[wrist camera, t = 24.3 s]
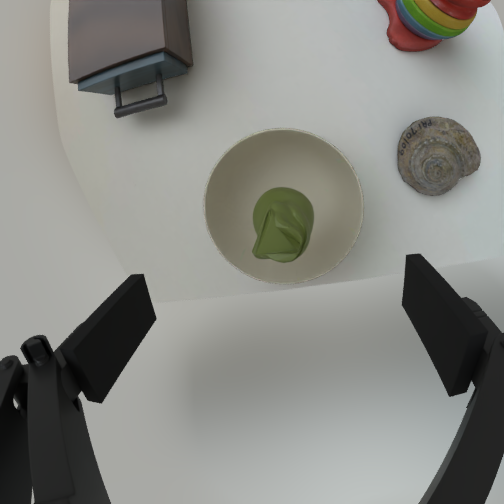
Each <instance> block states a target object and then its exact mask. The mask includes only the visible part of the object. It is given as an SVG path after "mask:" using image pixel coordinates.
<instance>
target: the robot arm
mask: <svg viewBox="0 0 504 504" xmlns="http://www.w3.org/2000/svg"><path fill="white" fill-rule="evenodd" d="M403 289H404V290H403V298H402V306H403V308H404V309H405V311H406V313H407V315H408V317H409V318H410V320H411V322H412V324H413V326H414V328H415V329H416V331H417V333H418V335H419V337H420V338H421V341H422V342H423V344H424V346H425V348H426V350H427V352H428V354H429V356H430V358H431V360H432V362H433V364H434V366H435V368H436V370H437V372H438V374H439V376H440V378H441V380H442V382H443V384H444V387H445V388H446V391H447V393H448V395H449V397H451V396H454V395H458V394H462V393H465V392H467V390H468V387H469V385H470V382H471V380H472V382H473V384H474V386H475V390H474V392H473V394H472V397H471V399H470V401H469V403H468V406H467V407H466V408H467V410H466V413H465V415H464V418H463V420H462V422H461V425H460V427H459V429H458V432H457V434H456V436H455V438H454V440H453V442H452V445H451V447H450V449H449V451H448V453H447V455H446V457H445V459H444V461H443V463H442V465H441V466H440V468H439V470H438V472H437V474H436V475H435V477H434V479H433V481H432V482H431V484H430V486H429V488H428V489H427V491H426V492H425V494H424V496H423V497H422V499H421V501H420V502H419V504H485V501H486V499H487V497H488V495H489V492H490V490H491V487H492V485H493V482H494V479H495V477H496V474H497V471H498V469H499V466H500V463H501V460H502V457H503V454H504V333H502V332H501V331H500V330H499V329H498V327H497V326H496V325H495V324H494V323H493V321H492V320H491V319H490V318H489V317H488V316H487V314H486V313H485V312H484V311H482V309H481V308H480V306H479V305H478V304H477V303H476V302H474V301H473V300H471V299H469V298H467V297H464V298H461V297H460V296H459V295H458V294H457V293H456V292H455V291H454V289H453V288H452V287H451V286H450V285H449V284H448V283H447V282H446V281H445V279H444V278H443V277H442V276H441V275H440V274H439V273H438V272H437V271H436V270H435V269H434V268H433V266H432V265H431V264H430V263H429V262H428V261H427V260H426V259H425V258H424V257H423V256H422V255H421V254H410V255H406V265H405V278H404V288H403ZM155 321H156V315H155V312H154V309H153V305H152V302H151V299H150V295H149V292H148V288H147V285H146V281H145V277H144V274H133V275H130V276H129V277H128V278H127V279H126V280H125V281H124V282H123V283H122V284H121V285H120V286H119V287H118V288H117V289H116V290H115V291H114V292H113V293H112V294H111V295H110V296H109V297H108V298H107V299H106V300H105V301H104V302H103V303H102V304H101V305H100V306H99V307H98V308H97V309H96V310H95V311H94V312H93V313H92V314H91V315H90V316H89V318H88V319H87V320H86V321H85V322H83V323H81V324H80V325H79V326H78V327H77V328H76V329H75V330H74V331H73V333H71V334H70V335H69V336H68V338H66V340H65V341H64V342H63V343H62V344H61V345H60V346H59V347H58V348H57V349H56V350H55V351H54V352H53V350H52V348H51V346H50V344H49V342H48V340H47V338H46V336H44V335H37V336H33V337H31V338H29V339H28V340H26V341H25V342H24V343H23V344H22V346H21V348H20V349H21V351H22V352H23V354H24V356H25V358H26V360H27V362H28V364H26V365H22V364H21V362H20V361H19V359H18V357H17V356H15V355H12V356H7V357H5V358H3V359H2V360H1V361H0V504H31V497H32V486H33V493H34V499H35V503H34V504H111V502H110V499H109V497H108V494H107V491H106V489H105V486H104V483H103V480H102V477H101V474H100V471H99V468H98V465H97V461H96V458H95V455H94V451H93V448H92V444H91V441H90V437H89V433H88V429H87V425H86V421H85V416H84V412H83V408H82V403H81V401H80V399H79V397H78V395H79V393H80V392H81V391H82V392H83V393H84V395H85V397H86V398H87V400H88V401H92V402H97V403H102V402H103V401H104V399H105V397H106V396H107V394H108V392H109V391H110V389H111V388H112V386H113V385H114V383H115V382H116V380H117V378H118V377H119V375H120V374H121V372H122V371H123V369H124V367H125V366H126V364H127V362H128V361H129V360H130V358H131V357H132V355H133V354H134V352H135V351H136V349H137V348H138V346H139V345H140V343H141V342H142V340H143V339H144V337H145V336H146V334H147V333H148V331H149V330H150V328H151V326H152V325H153V323H154V322H155ZM13 398H14V399H15V401H16V402H17V404H18V408H17V409H16V408H15V406H14V403H13Z"/></svg>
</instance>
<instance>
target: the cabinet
mask: <svg viewBox="0 0 504 504" xmlns="http://www.w3.org/2000/svg"><path fill="white" fill-rule="evenodd" d="M160 51H164V52H166V53H168V54H169V55H171V56H173V57H174V58H176V59H178V60H179V61H181V62H182V63H184V64H186V65H187V67H188V66H193V59H192V50H191V41H190V32H189V23H188V13H187V3H186V0H69V18H68V64H69V83H74V84H78V82H79V81H82V80H84V79H86V78H89V77H91V76H93V75H96V74H98V73H99V72H102V71H104V70H107V69H109V68H112V67H115V66H117V65H120V64H123V63H126V62H128V61H131V60H134V59H137V58H140V57H143V56H147V55H150V54H153V53H156V52H160Z"/></svg>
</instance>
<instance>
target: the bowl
mask: <svg viewBox="0 0 504 504" xmlns="http://www.w3.org/2000/svg"><path fill="white" fill-rule="evenodd" d="M276 187H288V188H292V189H295V190H297V191H299V192H301V193H302V194H304V195H305V196H306V197H307V198H308V199H309V201H310V202H311V204H312V206H313V210H314V224H313V229H312V233H311V235H310V241H309V244H308V247H307V248H306V250H305V251H304V253H303V254H302V255H301V256H300V257H298V258H297V259H296V260H294V261H292V262H287V263H281V262H277V261H274V260H272V259H258V258H256V257H255V256H254V255H253V253H252V249H253V247H254V244H255V241H256V239H257V234H256V232H255V229H254V225H253V210H254V207H255V205H256V202H257V201H258V199H259V198H260V197H261V196H262V194H264V193H265V192H266V191H268V190H270V189H272V188H276ZM203 207H204V218H205V223H206V226H207V230H208V233H209V235H210V237H211V240H212V241H213V243H214V245H215V247H216V248H217V250H218V251H219V252H220V254H221V255H222V256H223V257H224V258H225V259H226V260H227V261H228V262H229V263H230V264H231V265H232V266H233V267H235V268H236V269H237V270H239V271H241V272H242V273H244V274H246V275H247V276H249V277H252V278H254V279H257V280H260V281H263V282H267V283H274V284H296V283H302V282H306V281H309V280H312V279H315V278H317V277H320V276H322V275H324V274H325V273H327V272H328V271H330V270H331V269H333V268H334V267H335V266H337V265H338V264H339V263H340V262H341V261H342V260H343V259H344V258H345V257H346V255H347V254H348V253H349V252H350V250H351V249H352V247H353V245H354V244H355V242H356V240H357V238H358V235H359V232H360V229H361V226H362V222H363V214H364V200H363V193H362V189H361V185H360V182H359V179H358V177H357V174H356V172H355V171H354V169H353V167H352V165H351V164H350V162H349V161H348V160H347V158H346V157H345V156H344V155H343V154H342V153H341V152H340V151H339V150H338V149H337V148H336V147H335V146H333V145H332V144H331V143H329V142H328V141H326V140H324V139H323V138H321V137H319V136H317V135H315V134H312V133H309V132H306V131H302V130H298V129H291V128H275V129H268V130H263V131H259V132H256V133H254V134H251V135H249V136H247V137H245V138H243V139H241V140H240V141H238V142H237V143H235V144H234V145H233V146H231V147H230V148H229V149H228V150H227V151H226V152H225V153H224V154H223V155H222V156H221V158H220V159H219V160H218V162H217V163H216V164H215V166H214V168H213V170H212V172H211V174H210V176H209V178H208V181H207V184H206V188H205V193H204V205H203Z"/></svg>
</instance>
